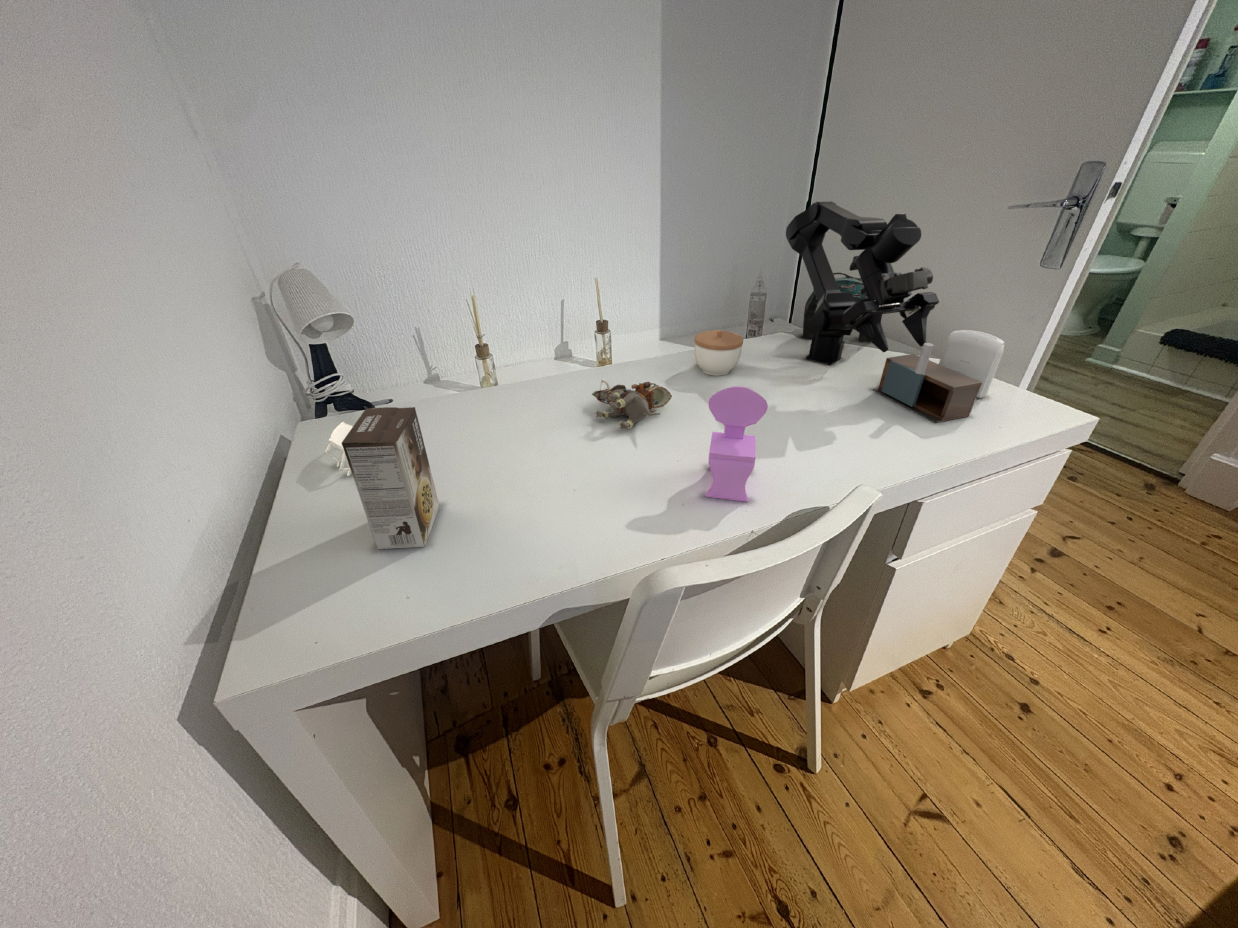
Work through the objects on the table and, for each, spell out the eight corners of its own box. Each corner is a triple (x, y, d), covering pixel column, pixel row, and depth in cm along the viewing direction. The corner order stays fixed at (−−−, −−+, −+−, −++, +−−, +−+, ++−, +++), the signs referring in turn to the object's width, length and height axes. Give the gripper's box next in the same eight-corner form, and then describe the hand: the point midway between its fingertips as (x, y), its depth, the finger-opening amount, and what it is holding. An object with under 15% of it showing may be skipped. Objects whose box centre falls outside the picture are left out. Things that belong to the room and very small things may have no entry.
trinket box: (684, 373, 116) (687, 333, 111) (703, 359, 124) (706, 320, 119) (729, 383, 111) (733, 341, 106) (746, 367, 119) (751, 327, 114)
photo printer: (928, 385, 110) (947, 328, 103) (936, 380, 112) (956, 324, 105) (980, 400, 103) (1004, 341, 96) (989, 395, 105) (1013, 336, 99)
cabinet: (872, 390, 108) (881, 358, 104) (903, 385, 110) (913, 353, 106) (935, 423, 95) (948, 388, 91) (969, 416, 97) (982, 382, 93)
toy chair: (697, 497, 75) (706, 405, 67) (702, 466, 83) (711, 380, 75) (755, 504, 74) (771, 411, 66) (755, 472, 81) (769, 384, 73)
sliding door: (879, 391, 106) (896, 333, 99) (885, 390, 106) (902, 332, 100) (910, 407, 99) (929, 346, 93) (916, 406, 100) (936, 345, 93)
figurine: (567, 384, 98) (626, 362, 109) (570, 413, 101) (627, 388, 112) (647, 409, 86) (705, 381, 96) (647, 441, 89) (703, 410, 99)
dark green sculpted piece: (876, 337, 137) (897, 258, 126) (881, 345, 131) (903, 263, 121) (799, 332, 141) (813, 255, 130) (800, 340, 135) (815, 260, 125)
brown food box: (395, 508, 74) (365, 407, 65) (441, 505, 74) (417, 404, 65) (375, 550, 66) (338, 442, 57) (426, 547, 66) (396, 439, 58)
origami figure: (394, 462, 84) (386, 436, 82) (340, 481, 80) (330, 454, 77) (369, 436, 92) (361, 411, 89) (318, 452, 87) (309, 426, 85)
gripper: (868, 255, 92) (897, 333, 89) (947, 248, 97) (977, 322, 94) (829, 290, 102) (855, 361, 99) (903, 282, 107) (929, 349, 104)
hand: (904, 348), depth 99 cm, fingers open, 9 cm apart
